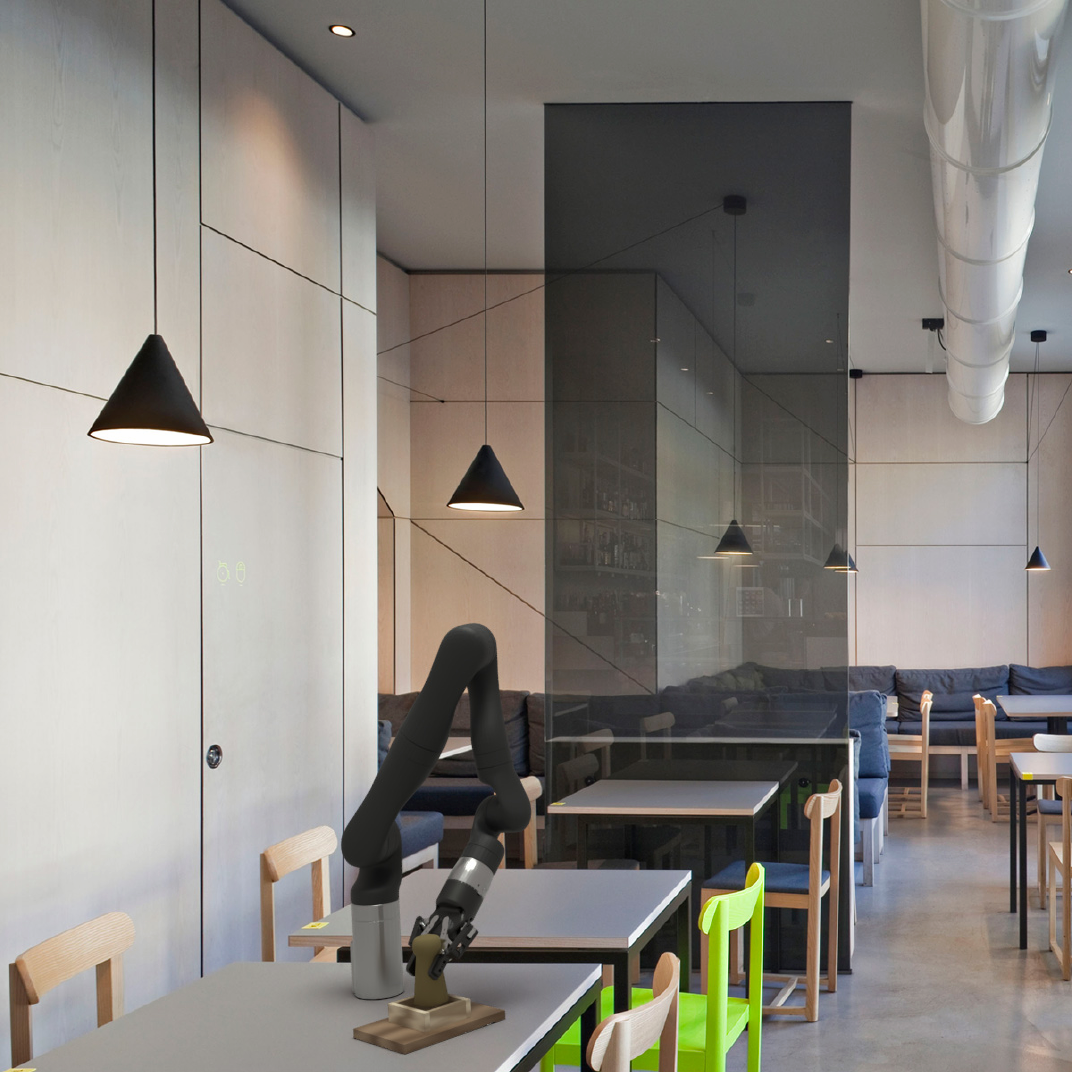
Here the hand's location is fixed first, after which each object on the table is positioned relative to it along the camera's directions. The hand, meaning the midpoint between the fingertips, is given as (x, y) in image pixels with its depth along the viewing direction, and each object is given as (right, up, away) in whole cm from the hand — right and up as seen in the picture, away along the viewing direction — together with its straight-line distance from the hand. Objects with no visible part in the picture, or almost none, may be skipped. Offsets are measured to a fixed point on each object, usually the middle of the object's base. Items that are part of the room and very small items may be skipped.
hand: (421, 975), depth 209 cm
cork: (+2, -5, +1) cm, 5 cm away
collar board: (+1, -9, +1) cm, 9 cm away
